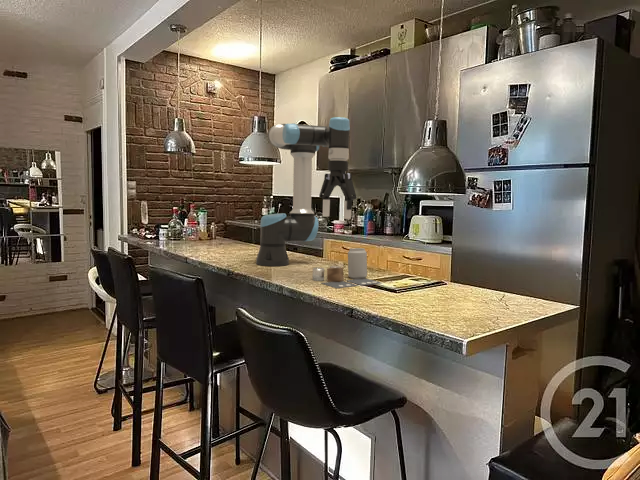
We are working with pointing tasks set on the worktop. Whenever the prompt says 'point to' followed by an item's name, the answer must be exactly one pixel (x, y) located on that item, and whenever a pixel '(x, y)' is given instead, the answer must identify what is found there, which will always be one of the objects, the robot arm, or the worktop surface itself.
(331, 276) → the walnut block
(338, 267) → the tin
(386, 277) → the worktop surface
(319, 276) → the tin
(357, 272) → the can
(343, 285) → the pad two
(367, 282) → the pad three
